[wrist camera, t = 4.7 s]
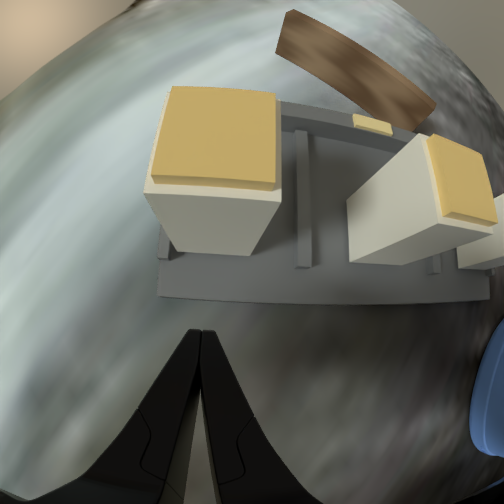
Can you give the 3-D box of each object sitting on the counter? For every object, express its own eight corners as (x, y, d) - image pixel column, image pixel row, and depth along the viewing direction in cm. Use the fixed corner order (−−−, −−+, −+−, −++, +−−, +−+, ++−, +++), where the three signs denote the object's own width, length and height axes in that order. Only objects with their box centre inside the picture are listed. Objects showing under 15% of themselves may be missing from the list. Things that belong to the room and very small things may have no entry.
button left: (249, 256, 16) (286, 194, 8) (177, 251, 16) (138, 184, 7) (252, 189, 17) (284, 88, 9) (184, 185, 16) (165, 80, 8)
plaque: (407, 132, 22) (437, 101, 17) (402, 140, 21) (434, 109, 16) (283, 47, 22) (295, 8, 17) (275, 53, 22) (285, 12, 17)
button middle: (401, 265, 17) (502, 230, 9) (349, 262, 17) (448, 218, 8) (396, 207, 18) (483, 150, 10) (346, 200, 18) (426, 125, 9)
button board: (480, 300, 19) (507, 296, 16) (160, 297, 16) (148, 292, 13) (463, 172, 22) (484, 158, 19) (184, 120, 19) (181, 90, 16)
